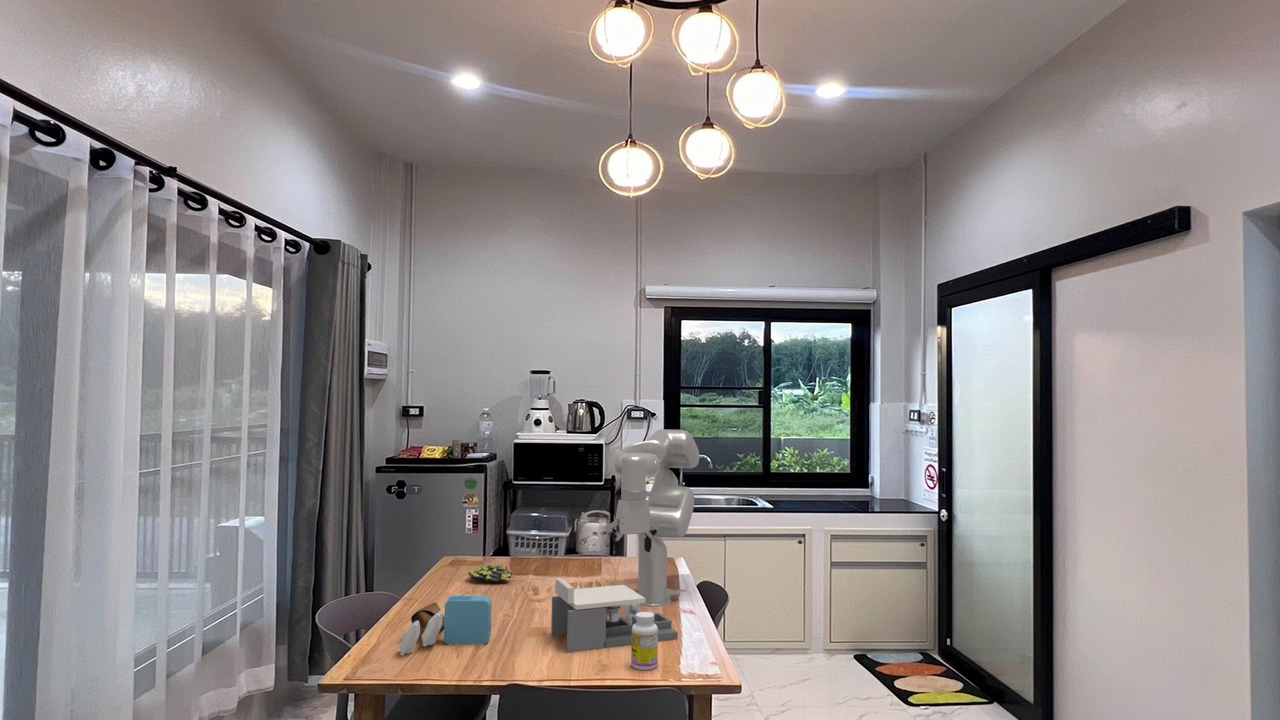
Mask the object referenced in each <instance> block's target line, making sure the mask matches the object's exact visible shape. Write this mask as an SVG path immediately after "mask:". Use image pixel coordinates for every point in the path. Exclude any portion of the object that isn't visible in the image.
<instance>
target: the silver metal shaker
mask: <svg viewBox="0 0 1280 720" xmlns="http://www.w3.org/2000/svg"><path fill="white" fill-rule="evenodd" d="M639 612H641V606H640V603H638V604H628V605H625V613H624V614H625V616H624V618H625V619H624V620H626V619H632V616H636V614H637V613H639Z"/></svg>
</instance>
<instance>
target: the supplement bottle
mask: <svg viewBox="0 0 1280 720" xmlns="http://www.w3.org/2000/svg"><path fill="white" fill-rule="evenodd" d="M636 621H637V623H635V624H634V625H633V626H632V645H631V653H630V655H631V656H630V657H631V659H630V663H631V667H632V668H634V669H636V670H640V671H648V670H649V671H650V670H653V669H656V668H657V666H658V661H659V660H658V653H659V652H658V651H659V649H658V647H659V642H658V627H657V625H656V624H654V623H653V621H654V613H653V612H649V611H640V612H639V613H637V614H636Z"/></svg>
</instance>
